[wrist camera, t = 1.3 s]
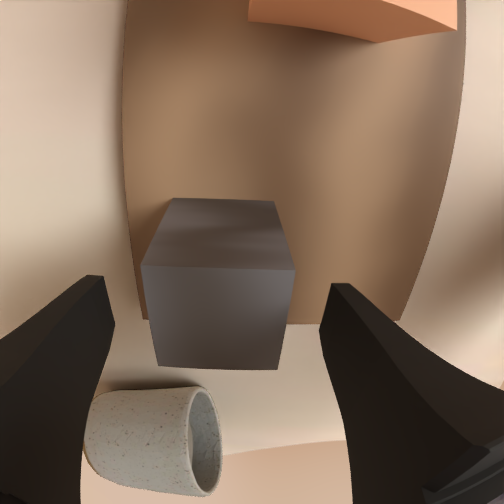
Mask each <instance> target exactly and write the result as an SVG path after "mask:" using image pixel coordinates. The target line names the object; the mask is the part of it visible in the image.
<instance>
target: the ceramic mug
mask: <svg viewBox="0 0 504 504" xmlns="http://www.w3.org/2000/svg"><path fill="white" fill-rule="evenodd" d="M83 451H84V454H85V457H86V459H87V461H88V463H89V465H90V466H91V467H92V469H93V470H94V471H95V472H96V473H97V474H98V475H100V476H102V477H103V478H105V479H108V480H109V481H112V482H114V483H117V484H119V485H123V486H127V487H132V488H138V489H146V490H151V491H156V492H164V493H173V494H179V495H187V496H198V497H205V496H209V495H211V494H212V493H213V492H214V491H215V489H216V488H217V486H218V483H219V480H220V476H221V471H222V438H221V430H220V424H219V418H218V414H217V410H216V408H215V405H214V402H213V400H212V398H211V396H210V394H209V393H208V391H207V390H206V389H205V388H203V387H200V386H193V387H183V388H168V389H151V390H118V391H112V392H106V393H103V394H100V395H98V396H96V397H95V398H94V399H93V400H92V402H91V406H90V409H89V413H88V418H87V423H86V429H85V435H84V442H83Z"/></svg>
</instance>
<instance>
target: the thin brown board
mask: <svg viewBox="0 0 504 504" xmlns="http://www.w3.org/2000/svg"><path fill="white" fill-rule="evenodd" d="M248 10H249V0H128V6H127V15H126V26H125V38H124V53H123V76H122V139H123V162H124V179H125V192H126V204H127V214H128V224H129V233H130V241H131V249H132V256H133V263H134V270H135V276H136V283H137V289H138V295H139V300H140V306H141V311H142V316H143V319H146V320H149V323H150V328H151V333H152V339H153V344H154V348H155V353H156V358H157V362H158V366H166V367H180V368H197V369H223V370H277V369H278V364H279V359H280V354H281V349H282V344H283V339H284V334H285V329H286V324H321V321H322V317H323V313H324V310H325V306H326V302H327V298H328V294H329V290H330V286H331V283H350V284H351V285H352V286H353V287H355V288H356V289H357V290H358V291H359V292H361V293H362V294H363V295H364V296H365V297H366V298H367V299H368V300H370V301H371V302H372V303H373V304H374V305H375V306H376V307H377V308H378V309H380V310H381V311H382V312H383V313H384V314H385V315H386V316H387V317H389V318H390V319H391V320H392V321H397V320H400V318H401V315H402V313H403V311H404V308H405V306H406V303H407V301H408V299H409V296H410V294H411V291H412V288H413V286H414V283H415V281H416V278H417V275H418V273H419V270H420V267H421V264H422V262H423V259H424V256H425V253H426V250H427V247H428V244H429V241H430V238H431V235H432V231H433V228H434V225H435V221H436V218H437V215H438V211H439V207H440V204H441V200H442V196H443V192H444V188H445V184H446V180H447V176H448V172H449V167H450V163H451V158H452V153H453V148H454V143H455V137H456V131H457V125H458V119H459V112H460V105H461V97H462V88H463V78H464V65H465V47H466V0H457V31H448V32H440V33H432V34H425V35H419V36H413V37H407V38H402V39H397V40H392V41H387V42H382V43H375V42H372V41H368V40H364V39H360V38H356V37H352V36H347V35H343V34H338V33H333V32H328V31H322V30H317V29H311V28H304V27H297V26H290V25H282V24H272V23H261V22H248Z"/></svg>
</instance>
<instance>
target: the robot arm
mask: <svg viewBox="0 0 504 504" xmlns="http://www.w3.org/2000/svg"><path fill="white" fill-rule="evenodd" d="M114 327H115V321H114V318H113V314H112V310H111V306H110V302H109V298H108V294H107V289H106V285H105V280H104V276H96V275H86V276H85V277H83V278H82V279H80V280H79V281H77V282H76V283H75V284H73V285H72V286H71V287H70V288H68V289H67V290H66V291H64V292H63V293H62V294H61V295H59V296H58V297H57V298H56V299H54V300H53V301H52V302H51V303H49V304H48V305H47V306H46V307H44V308H43V309H42V310H40V311H39V312H38V313H36V314H35V315H34V316H32V317H31V318H30V319H28V320H27V321H26V322H25V323H23V324H22V325H21V326H19V327H18V328H16V329H15V330H14V331H12V332H11V333H9V334H8V335H6V336H5V337H3V338H2V339H0V504H81V501H80V479H81V461H82V451H83V442H84V435H85V429H86V423H87V418H88V413H89V409H90V406H91V402H92V399H93V396H94V393H95V390H96V387H97V384H98V381H99V378H100V376H101V373H102V370H103V367H104V364H105V361H106V358H107V356H108V353H109V350H110V345H111V341H112V337H113V332H114ZM319 334H320V340H321V346H322V351H323V357H324V360H325V363H326V367H327V370H328V373H329V376H330V379H331V383H332V386H333V389H334V392H335V395H336V399H337V402H338V405H339V408H340V412H341V415H342V419H343V423H344V429H345V435H346V441H347V447H348V455H349V462H350V471H351V482H352V496H353V504H504V391H503V390H501V389H498V388H496V387H494V386H491V385H489V384H487V383H485V382H483V381H481V380H479V379H477V378H475V377H473V376H471V375H469V374H467V373H465V372H463V371H462V370H460V369H458V368H456V367H455V366H453V365H451V364H450V363H448V362H446V361H445V360H443V359H442V358H440V357H439V356H437V355H436V354H434V353H433V352H432V351H430V350H429V349H427V348H426V347H424V346H423V345H422V344H420V343H419V342H418V341H416V340H415V339H414V338H413V337H411V336H410V335H409V334H408V333H406V332H405V331H404V330H403V329H402V328H400V327H399V326H398V325H397V324H396V323H394V322H393V321H392V320H391V319H390V318H389V317H387V316H386V315H385V314H384V313H383V312H382V311H381V310H380V309H378V308H377V307H376V306H375V305H374V304H373V303H372V302H371V301H370V300H368V299H367V298H366V297H365V296H364V295H363V294H362V293H361V292H359V291H358V290H357V289H356V288H355V287H353V286H352V285H351V284H350V283H331V286H330V290H329V294H328V298H327V302H326V306H325V310H324V313H323V317H322V321H321V324H320V328H319Z"/></svg>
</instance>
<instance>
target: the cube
mask: <svg viewBox="0 0 504 504" xmlns="http://www.w3.org/2000/svg"><path fill="white" fill-rule="evenodd" d="M248 22H261V23H272V24H282V25H290V26H297V27H304V28H311V29H317V30H322V31H328V32H333V33H338V34H343V35H347V36H352V37H356V38H360V39H364V40H368V41H372V42H375V43H382V42H387V41H392V40H397V39H402V38H407V37H413V36H419V35H425V34H432V33H440V32H448V31H457V0H249V10H248Z"/></svg>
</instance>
